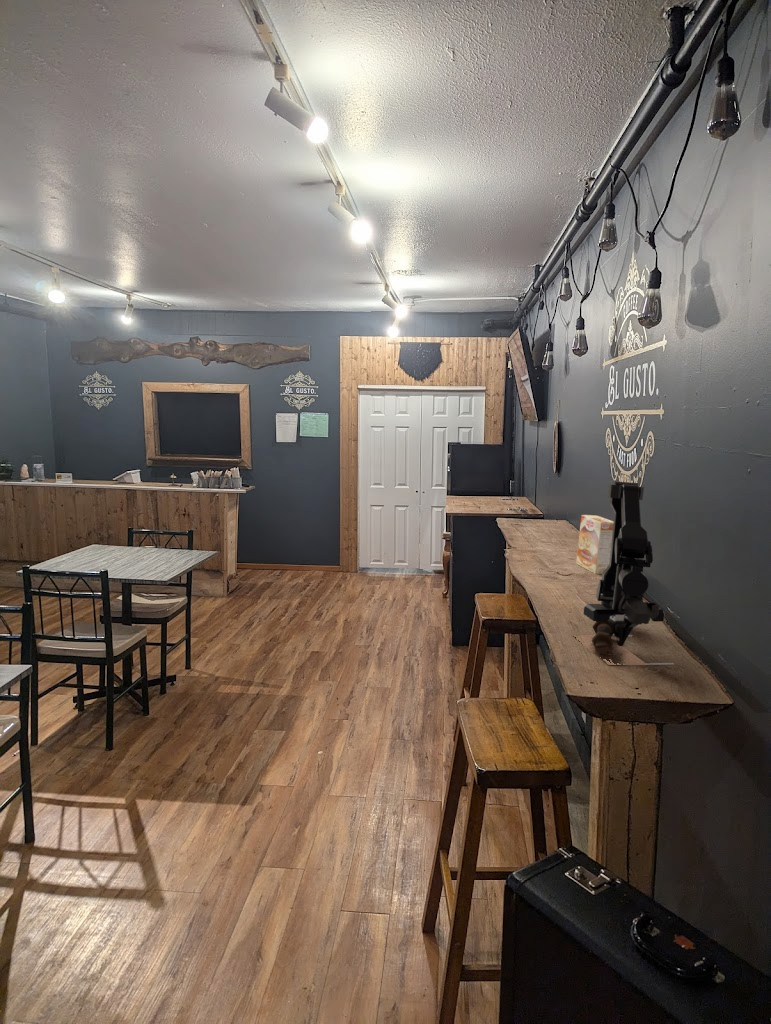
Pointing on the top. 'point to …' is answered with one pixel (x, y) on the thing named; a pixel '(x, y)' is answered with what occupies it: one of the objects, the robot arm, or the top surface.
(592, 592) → the top surface
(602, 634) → the bolt
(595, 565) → the coffeecake box
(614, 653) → the seat and pad
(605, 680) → the top surface
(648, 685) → the top surface
